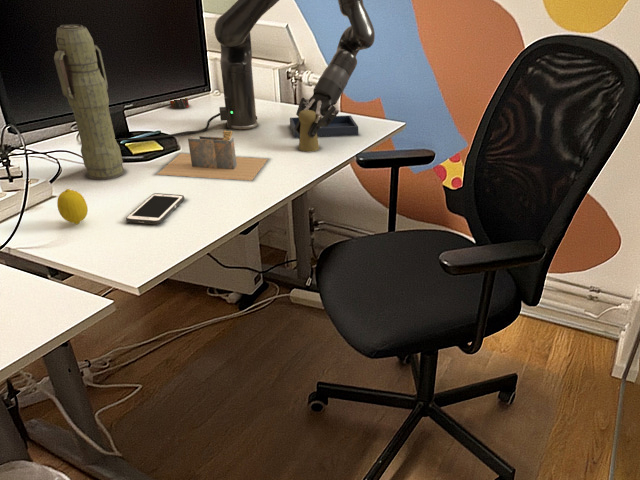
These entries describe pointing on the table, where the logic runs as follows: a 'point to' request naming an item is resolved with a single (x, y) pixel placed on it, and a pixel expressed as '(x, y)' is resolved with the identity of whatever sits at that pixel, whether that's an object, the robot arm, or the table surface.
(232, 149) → the architectural model on board
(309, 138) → the cork
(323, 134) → the pan
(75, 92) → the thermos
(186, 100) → the black red jagged block
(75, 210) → the lemon
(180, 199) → the cell phone
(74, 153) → the table surface
